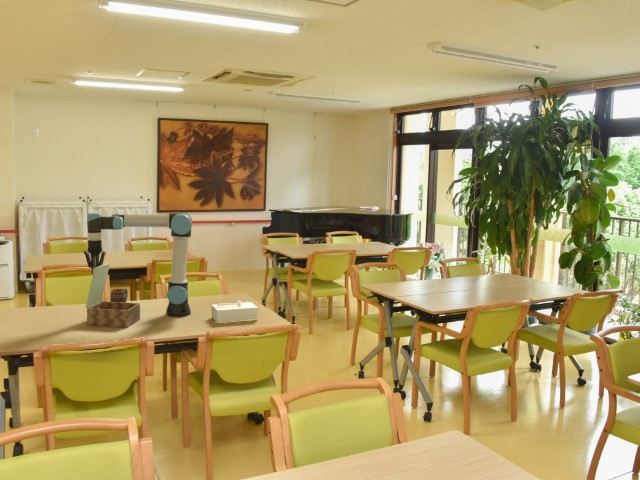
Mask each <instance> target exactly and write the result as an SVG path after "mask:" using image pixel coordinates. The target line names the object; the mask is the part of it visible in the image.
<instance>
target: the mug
mask: <svg viewBox="0 0 640 480" xmlns="http://www.w3.org/2000/svg"><path fill="white" fill-rule="evenodd" d="M128 291H129V290H128V288H127V287H122V288H113V289H111V290H110V295H109V297H110V299H109V302H124V303H127V300H128V296H129V292H128Z"/></svg>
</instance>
